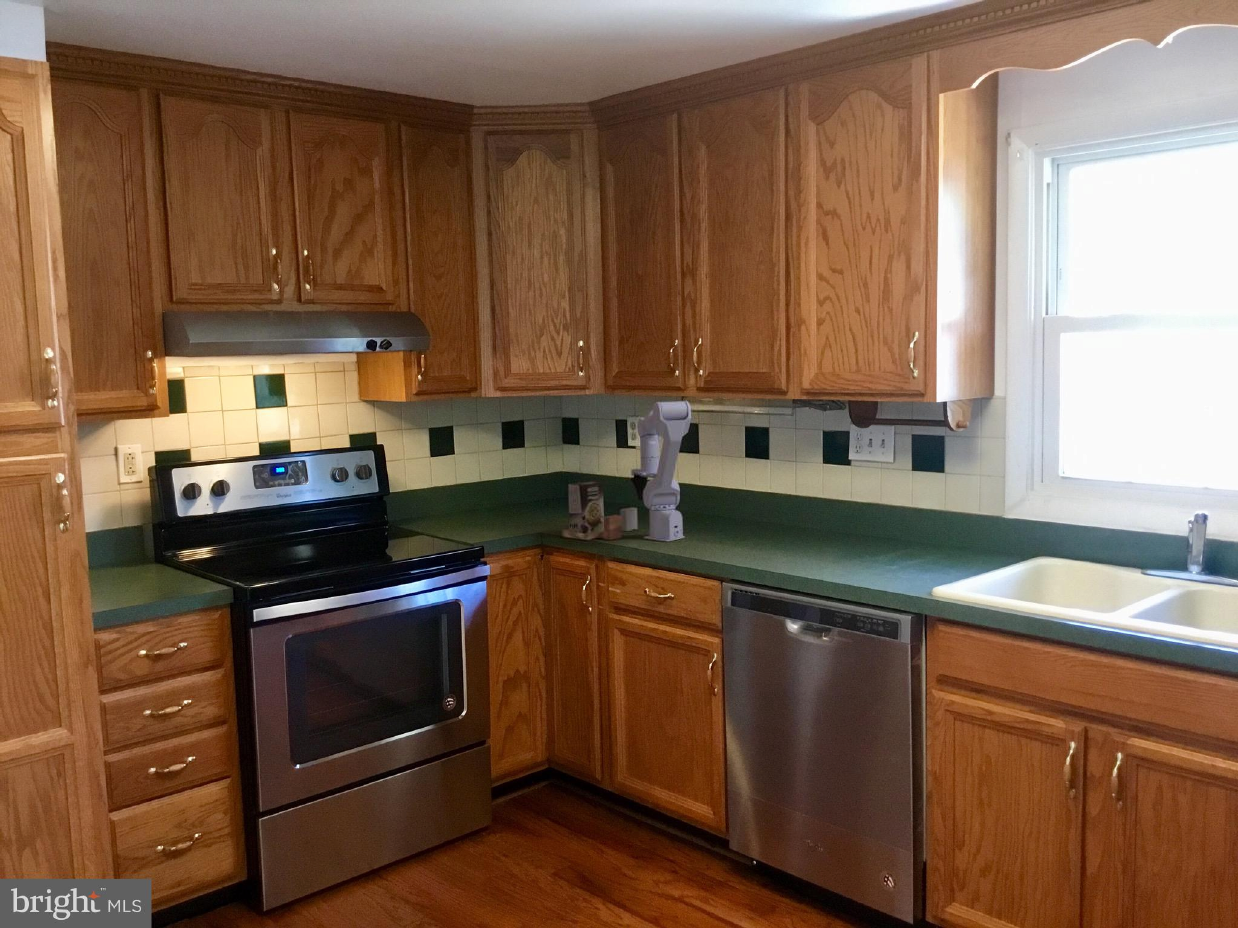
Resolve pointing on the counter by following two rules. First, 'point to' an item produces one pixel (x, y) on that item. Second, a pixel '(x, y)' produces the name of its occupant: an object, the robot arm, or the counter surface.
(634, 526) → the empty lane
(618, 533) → the carton sled
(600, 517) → the coffee box
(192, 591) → the counter surface
